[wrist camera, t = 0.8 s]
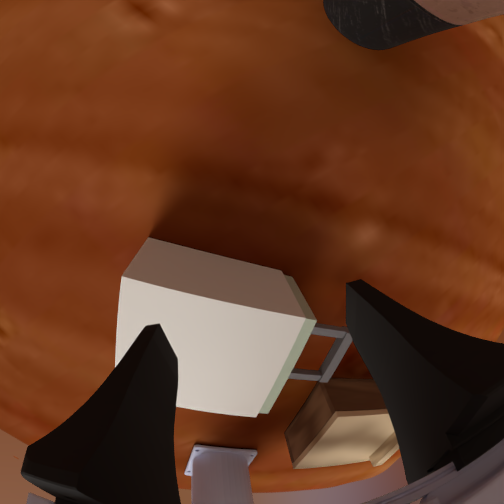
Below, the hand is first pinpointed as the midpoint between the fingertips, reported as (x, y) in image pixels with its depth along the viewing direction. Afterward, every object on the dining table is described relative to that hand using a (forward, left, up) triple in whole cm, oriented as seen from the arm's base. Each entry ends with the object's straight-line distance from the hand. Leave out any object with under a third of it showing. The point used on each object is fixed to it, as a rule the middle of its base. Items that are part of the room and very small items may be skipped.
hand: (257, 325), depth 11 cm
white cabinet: (-6, +1, -10) cm, 12 cm away
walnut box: (-16, -18, -10) cm, 26 cm away
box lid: (-16, -18, -6) cm, 25 cm away
